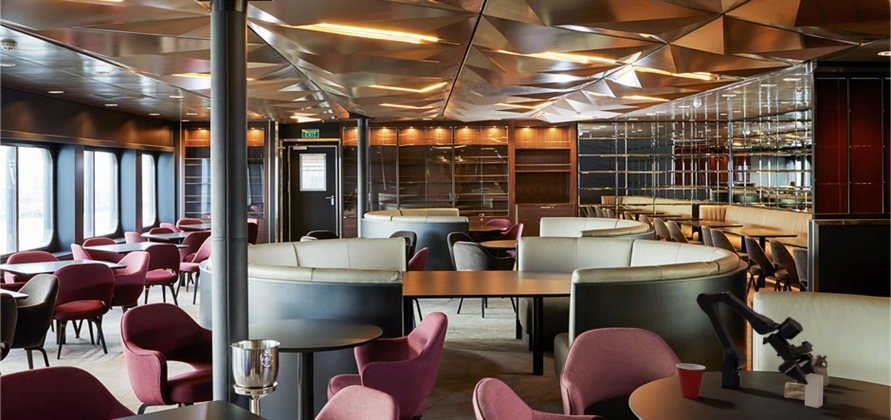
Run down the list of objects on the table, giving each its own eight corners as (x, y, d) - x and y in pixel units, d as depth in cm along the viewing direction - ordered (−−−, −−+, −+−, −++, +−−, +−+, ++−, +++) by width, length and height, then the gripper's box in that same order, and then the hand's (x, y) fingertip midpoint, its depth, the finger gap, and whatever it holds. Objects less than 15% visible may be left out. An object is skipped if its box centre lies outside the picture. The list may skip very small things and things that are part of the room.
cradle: (784, 397, 289) (784, 368, 289) (787, 383, 309) (788, 356, 308) (814, 401, 284) (815, 371, 284) (816, 386, 304) (817, 359, 304)
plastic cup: (706, 394, 292) (707, 363, 292) (703, 402, 282) (704, 369, 282) (677, 390, 297) (677, 360, 296) (673, 398, 287) (673, 366, 286)
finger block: (804, 405, 279) (805, 375, 279) (809, 402, 282) (810, 373, 282) (817, 407, 276) (818, 377, 276) (822, 405, 279) (823, 375, 279)
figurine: (810, 380, 313) (811, 351, 312) (830, 383, 309) (830, 354, 308) (807, 384, 307) (808, 354, 307) (826, 387, 303) (827, 357, 303)
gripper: (787, 337, 276) (818, 373, 269) (808, 331, 289) (838, 365, 281) (765, 355, 282) (795, 391, 275) (787, 348, 295) (816, 382, 287)
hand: (812, 382), depth 279 cm, fingers open, 9 cm apart
